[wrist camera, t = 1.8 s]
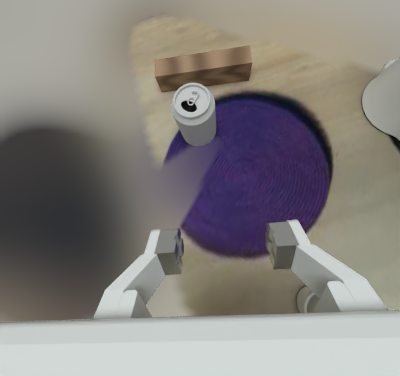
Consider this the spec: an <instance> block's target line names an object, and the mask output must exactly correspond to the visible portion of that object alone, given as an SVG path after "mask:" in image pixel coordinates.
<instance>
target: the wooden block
mask: <svg viewBox="0 0 400 376" xmlns="http://www.w3.org/2000/svg"><path fill="white" fill-rule="evenodd" d="M154 61H155V78H156V80H157V82H158V84H159V86H160V89H161V91H162V92H167V91H174V90H178V89H179V88H180V87H181V86H183V85H185V84H188V83H198V84H202V85H203V86H210V85H218V84H225V83H232V82H239V81H247V80H249V76H250V71H251V66H252V58H251V51H250V46H243V47H237V48H230V49H224V50H217V51H211V52H204V53H198V54H191V55H185V56H178V57H172V58H165V59H159V60H154Z"/></svg>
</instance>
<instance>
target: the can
mask: <svg viewBox="0 0 400 376" xmlns="http://www.w3.org/2000/svg"><path fill="white" fill-rule="evenodd" d="M171 109H172V113H173V116H174V118H175V120H176V123H177V125H178V127H179V129H180V131H181V134H182V136H183V138H184V139H185V141H186V142H187V143H189V144H190V145H193V146H204V145H207V144H208V143H210V142H211V141H212V140H213V138H214V136H215V134H216V115H215V100H214V97H213V95H212V94H211V92H210V91H209V90H208V89H207V88H206V87H205V86H203V85H202V84H198V83H188V84H185V85H183V86H181V87H180V88H179V89H178V90H177V91H176V92H175V95H174V97H173V100H172V106H171Z"/></svg>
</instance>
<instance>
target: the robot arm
mask: <svg viewBox="0 0 400 376" xmlns="http://www.w3.org/2000/svg"><path fill="white" fill-rule="evenodd" d="M362 105H363V110H364V112H365V115H366V116H367V118H368V119H369V121H370V122H371V123H372V124H373V125H374V126H375V127H377V128H378V129H380V130H381V131H383V132H385V133H387V134H390V135H392V136H394V137H396V138H397V139H398V140H400V57H399V58H398V59H397V60H390V61H389V62H387V63H386V64H385V65H384V66H383V68H382V70H381V72H380V74H379V75H378V76H377V77H376V78H374V79H373V80H372V81H371V82H370V83H369V84H368V85H367V87H366V88H365V90H364V93H363V97H362ZM266 229H267V232H266V233H265V243H266V247H267V250H268V251H269V252H270V260H271V263H272V266H273V269H291V271H292V272H293V273H294V274H295V275H296V276H297V277H298V278H299V279H300V280H301V281H302V282H303V283H304V284H305V285H306V286H307V287H308V288H309V289H310V290H311V291H312V292H313V293H314V294H315V295H316V296H317V297H318V298H319V299H320V301H319V303H318V305H317V307H316V310H315V313H286V314H251V315H217V316H184V317H152V316H151V314H150V313H149V311H148V309H147V308H146V306H145V305H146V304H147V302H148V301H149V299H150V298H151V296H152V295H153V294H154V292H155V291H156V289H157V288H158V286H159V285H160V283H161V282H162V281H163V279H164V278H165V275H174V274H181V271H182V259H181V257H182V256H183V253H184V245H183V239H182V238H181V237H180V236H181V232H180V229H179V228H178V229H160V230H152V231H151V233H150V236H149V240H148V243H147V246H146V249H145V253H144V255H141V256H140V257H139V258H138V259H137V260H136V261H135V262H133V263H132V265H131V266H129V267H128V268H127V270H125V271H124V272H123V273H122V274H121V275H120V276H119V277H118V278H117V279H116V280H115V281H114V282H113V283H112V284H111V285H110V286H109V287H108V288H107V289H106V290H105V292H104V295H103V297H102V299H101V301H100V304H99V306H98V309H97V311H96V313H95V316H94V318H93V319H84V320H54V321H16V322H0V376H400V310H388V309H387V308H386V307H385V305H384V304H383V302H382V301H381V299H380V298H379V297H378V295H377V294H376V292H375V291H374V289H373V288H372V287H371V285H370V284H369V282H368V281H367V279H365V278H364V277H362V276H361V275H359V274H358V273H356V272H355V271H353V270H352V269H350V268H349V267H347V266H346V265H344V264H343V263H341V262H340V261H338V260H337V259H335V258H334V257H332V256H331V255H329V254H328V253H326V252H325V251H323V250H322V249H321V248H319V247H318V246H316V245H311V243H310V241H309V239H308V237H307V236H306V234H305V232H304V230H303V228H302V227H301V225H300V223H299V221H298V220H287V221H273V222H267V223H266Z"/></svg>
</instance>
